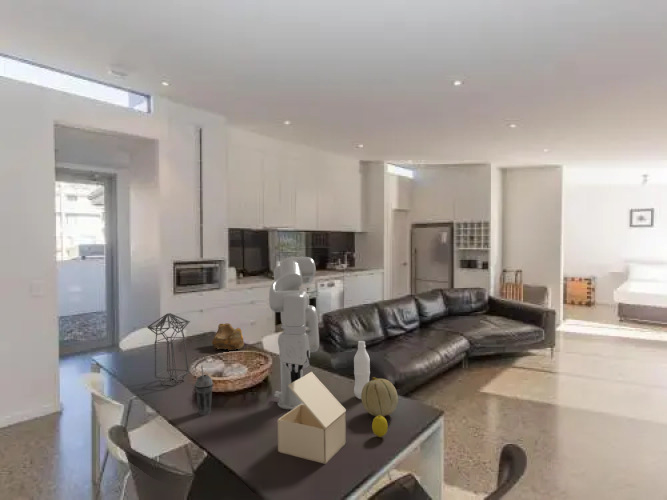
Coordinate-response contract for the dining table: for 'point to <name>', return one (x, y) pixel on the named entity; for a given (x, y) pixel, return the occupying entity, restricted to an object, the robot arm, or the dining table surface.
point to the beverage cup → (204, 393)
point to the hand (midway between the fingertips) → (295, 382)
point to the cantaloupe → (379, 397)
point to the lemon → (379, 426)
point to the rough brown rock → (228, 337)
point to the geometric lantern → (170, 343)
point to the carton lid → (317, 399)
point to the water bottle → (361, 369)
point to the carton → (310, 435)
